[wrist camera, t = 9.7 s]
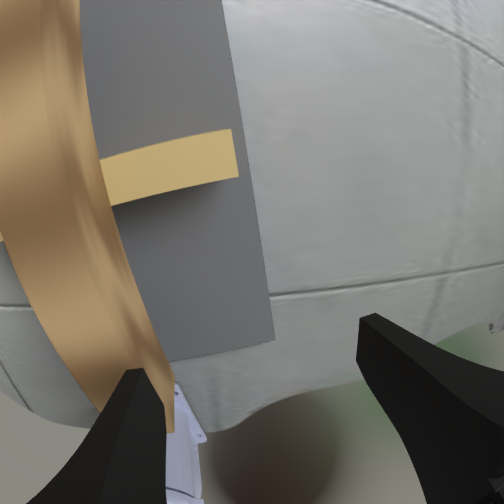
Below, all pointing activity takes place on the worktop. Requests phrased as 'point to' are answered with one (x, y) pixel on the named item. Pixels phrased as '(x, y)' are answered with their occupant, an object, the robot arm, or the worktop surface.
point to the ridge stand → (177, 170)
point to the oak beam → (67, 207)
